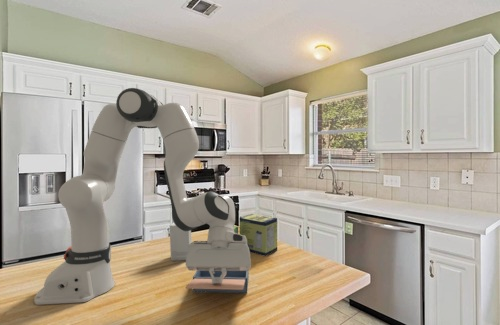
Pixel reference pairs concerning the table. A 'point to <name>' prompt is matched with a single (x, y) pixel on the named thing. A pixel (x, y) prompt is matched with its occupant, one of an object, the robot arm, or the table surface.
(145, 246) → the table surface
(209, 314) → the table surface
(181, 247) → the skincare box
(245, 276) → the mailer
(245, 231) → the protein box
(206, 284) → the lid
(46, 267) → the table surface
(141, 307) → the table surface
